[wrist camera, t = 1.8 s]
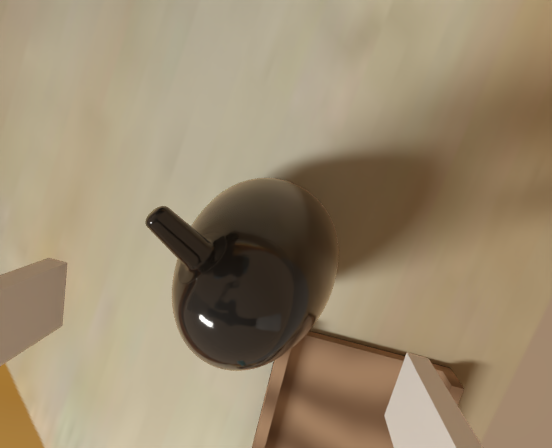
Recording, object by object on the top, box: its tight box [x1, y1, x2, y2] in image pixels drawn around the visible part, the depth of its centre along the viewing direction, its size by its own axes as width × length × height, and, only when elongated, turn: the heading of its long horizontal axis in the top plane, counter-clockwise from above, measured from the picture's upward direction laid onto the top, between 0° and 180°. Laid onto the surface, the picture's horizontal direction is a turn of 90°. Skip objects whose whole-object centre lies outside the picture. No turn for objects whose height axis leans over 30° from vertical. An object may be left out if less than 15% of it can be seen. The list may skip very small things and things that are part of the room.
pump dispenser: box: [146, 178, 339, 371], centre depth 18 cm, size 10×10×15 cm
